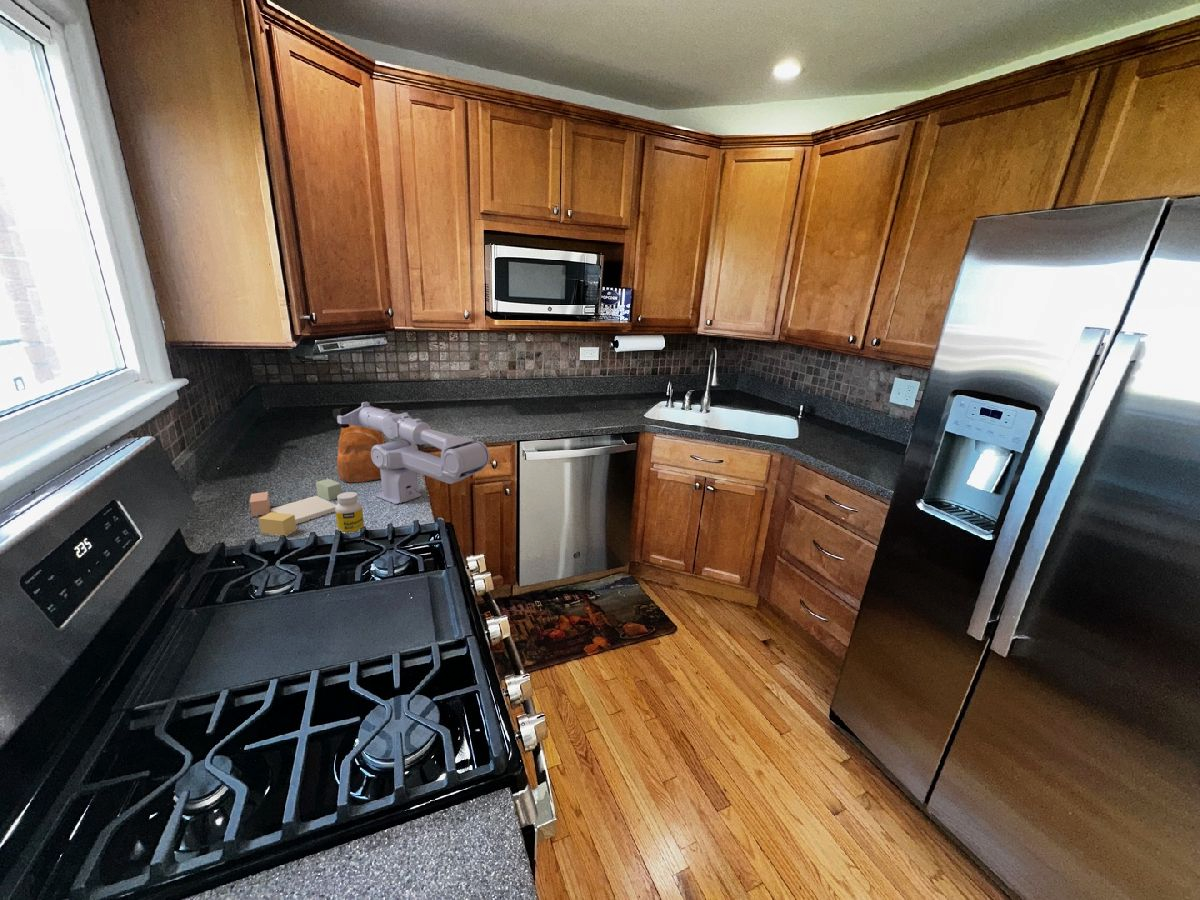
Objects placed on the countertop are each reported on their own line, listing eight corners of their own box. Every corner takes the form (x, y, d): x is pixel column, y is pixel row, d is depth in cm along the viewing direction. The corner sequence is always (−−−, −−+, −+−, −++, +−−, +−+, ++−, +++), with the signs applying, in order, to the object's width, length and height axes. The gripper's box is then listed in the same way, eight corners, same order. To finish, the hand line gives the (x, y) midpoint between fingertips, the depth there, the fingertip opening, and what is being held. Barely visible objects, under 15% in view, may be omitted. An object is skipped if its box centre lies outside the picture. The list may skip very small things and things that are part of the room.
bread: (387, 455, 165) (383, 412, 161) (389, 480, 142) (385, 430, 138) (343, 458, 160) (337, 414, 155) (337, 485, 137) (330, 434, 132)
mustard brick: (297, 530, 110) (294, 514, 108) (285, 537, 106) (282, 521, 105) (273, 527, 110) (270, 512, 109) (261, 534, 107) (258, 518, 106)
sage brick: (342, 497, 129) (340, 483, 128) (329, 501, 126) (327, 487, 125) (330, 492, 132) (328, 478, 131) (317, 495, 129) (315, 482, 128)
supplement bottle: (344, 542, 105) (338, 501, 102) (334, 534, 108) (329, 494, 105) (369, 534, 109) (364, 495, 106) (359, 527, 112) (354, 488, 109)
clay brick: (269, 514, 117) (267, 499, 116) (252, 517, 115) (249, 502, 114) (270, 506, 122) (267, 491, 120) (253, 508, 120) (251, 494, 119)
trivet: (339, 510, 120) (338, 505, 120) (293, 525, 112) (292, 520, 111) (316, 499, 126) (316, 495, 126) (271, 513, 117) (270, 508, 117)
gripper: (399, 401, 132) (370, 394, 139) (350, 408, 120) (320, 400, 127) (400, 426, 134) (371, 418, 141) (352, 435, 122) (322, 425, 129)
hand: (347, 411), depth 134 cm, fingers open, 7 cm apart
